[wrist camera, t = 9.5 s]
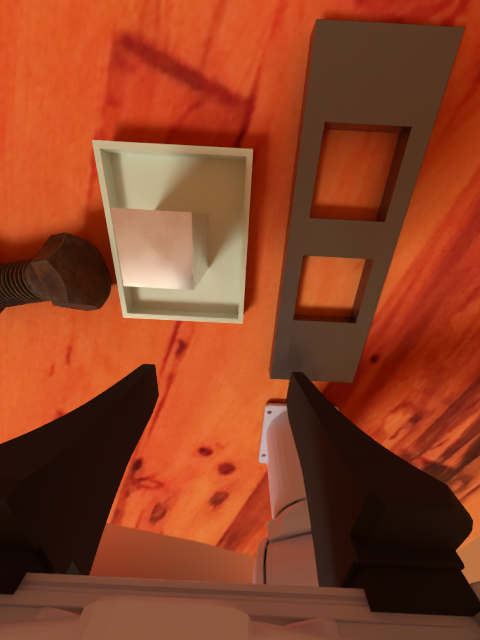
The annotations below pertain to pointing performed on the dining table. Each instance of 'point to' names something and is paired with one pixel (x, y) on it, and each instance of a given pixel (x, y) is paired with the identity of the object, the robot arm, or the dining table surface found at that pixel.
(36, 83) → the dining table surface
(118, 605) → the robot arm
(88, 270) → the bolt
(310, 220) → the metal plate with holes
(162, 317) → the tray
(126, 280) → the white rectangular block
